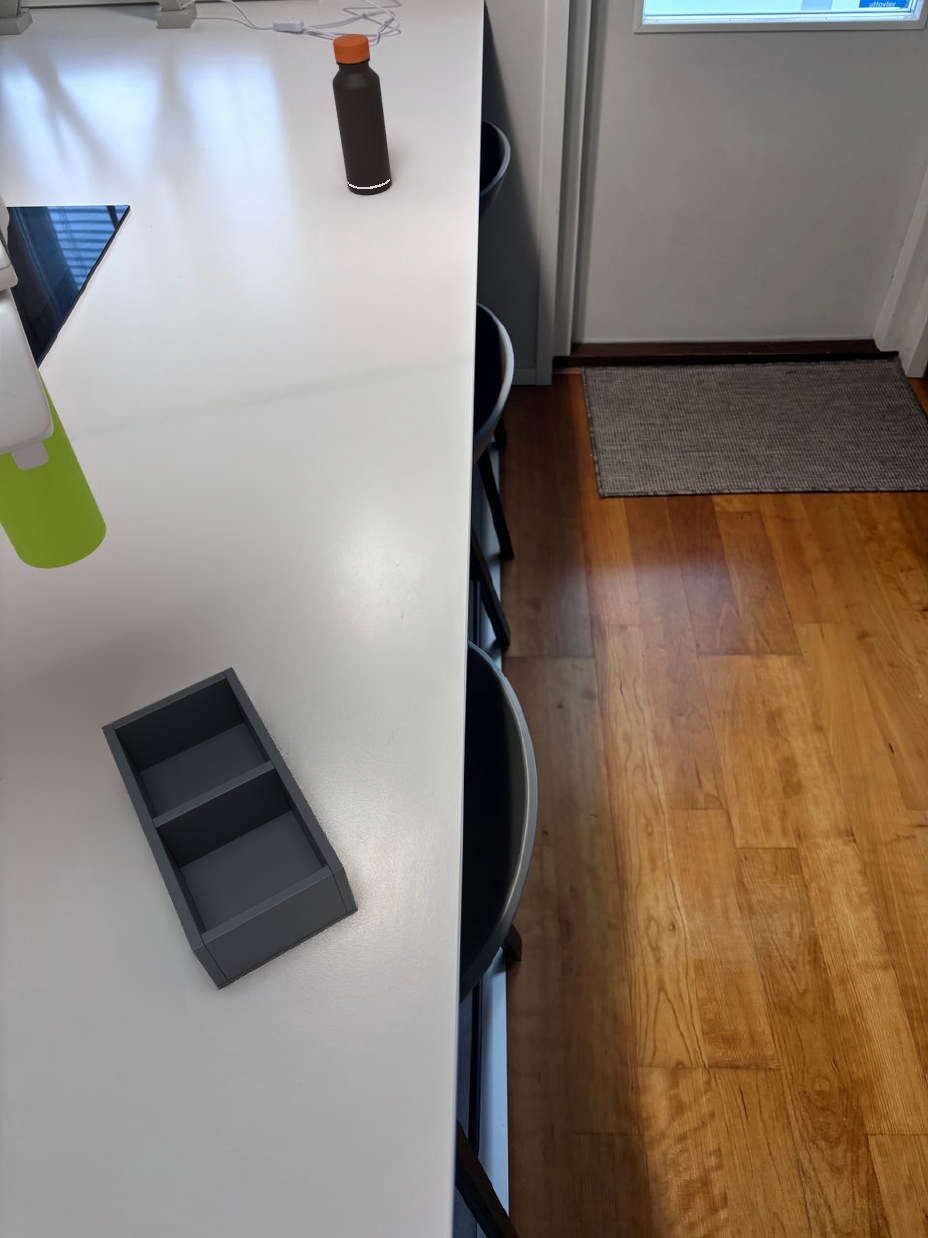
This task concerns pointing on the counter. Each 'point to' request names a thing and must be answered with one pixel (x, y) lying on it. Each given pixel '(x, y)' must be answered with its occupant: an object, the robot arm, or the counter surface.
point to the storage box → (228, 827)
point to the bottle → (360, 116)
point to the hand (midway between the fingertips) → (19, 430)
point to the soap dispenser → (50, 505)
